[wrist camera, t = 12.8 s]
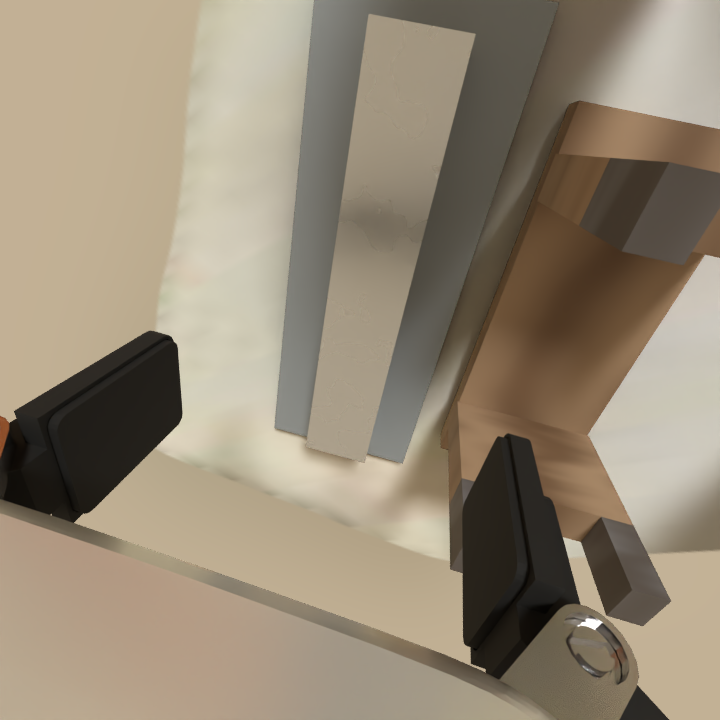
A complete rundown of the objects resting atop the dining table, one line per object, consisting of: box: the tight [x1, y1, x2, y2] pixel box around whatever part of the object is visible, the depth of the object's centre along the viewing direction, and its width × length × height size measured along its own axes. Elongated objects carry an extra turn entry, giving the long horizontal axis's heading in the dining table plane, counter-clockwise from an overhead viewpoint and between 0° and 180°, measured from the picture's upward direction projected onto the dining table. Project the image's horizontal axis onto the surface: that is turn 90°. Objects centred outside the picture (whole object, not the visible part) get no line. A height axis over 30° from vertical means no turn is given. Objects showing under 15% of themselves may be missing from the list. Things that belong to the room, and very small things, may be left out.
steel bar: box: [306, 14, 476, 463], centre depth 21 cm, size 4×22×3 cm, turn 169°
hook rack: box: [441, 101, 720, 626], centre depth 17 cm, size 8×20×12 cm, turn 169°
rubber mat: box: [275, 0, 559, 463], centre depth 23 cm, size 10×26×1 cm, turn 169°
